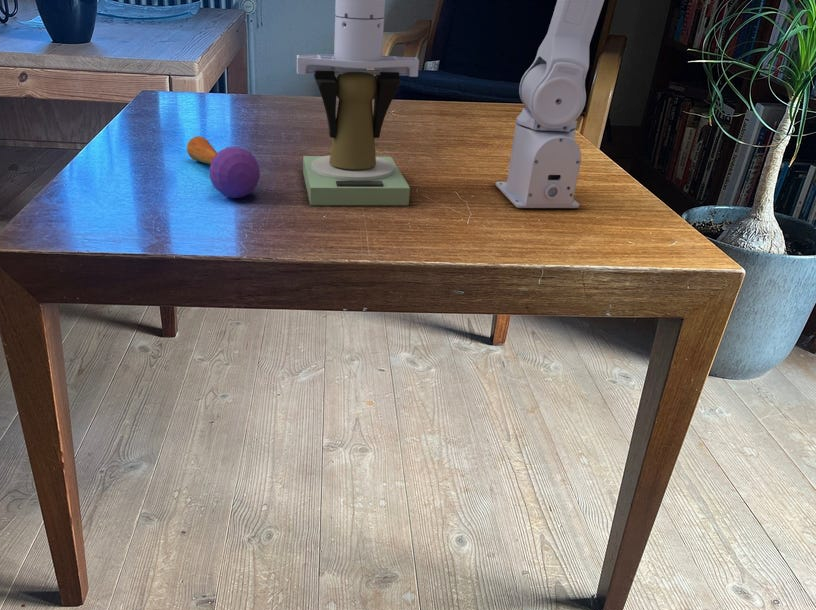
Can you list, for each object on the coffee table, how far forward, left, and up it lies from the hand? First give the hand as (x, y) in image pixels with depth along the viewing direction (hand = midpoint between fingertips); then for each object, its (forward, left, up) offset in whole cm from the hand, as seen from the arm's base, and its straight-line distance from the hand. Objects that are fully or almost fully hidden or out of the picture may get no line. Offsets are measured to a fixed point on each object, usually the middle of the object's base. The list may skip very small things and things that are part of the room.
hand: (354, 135), depth 92 cm
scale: (-1, 0, -6) cm, 6 cm away
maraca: (+2, +17, -6) cm, 18 cm away
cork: (0, 0, -4) cm, 4 cm away
